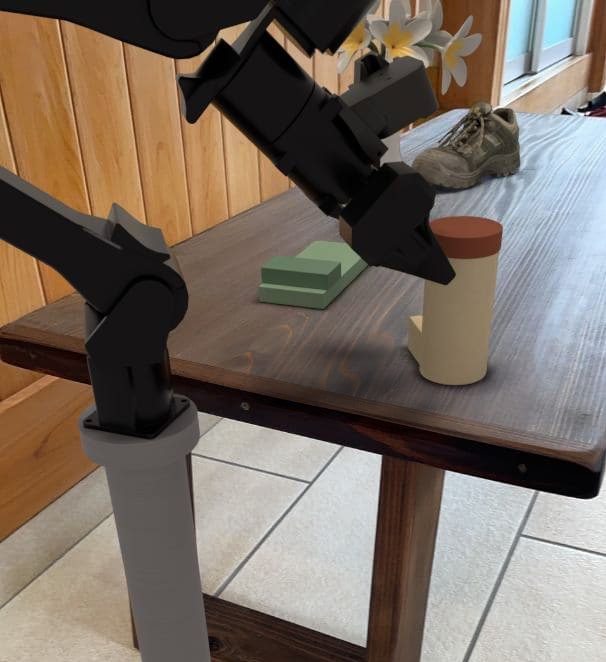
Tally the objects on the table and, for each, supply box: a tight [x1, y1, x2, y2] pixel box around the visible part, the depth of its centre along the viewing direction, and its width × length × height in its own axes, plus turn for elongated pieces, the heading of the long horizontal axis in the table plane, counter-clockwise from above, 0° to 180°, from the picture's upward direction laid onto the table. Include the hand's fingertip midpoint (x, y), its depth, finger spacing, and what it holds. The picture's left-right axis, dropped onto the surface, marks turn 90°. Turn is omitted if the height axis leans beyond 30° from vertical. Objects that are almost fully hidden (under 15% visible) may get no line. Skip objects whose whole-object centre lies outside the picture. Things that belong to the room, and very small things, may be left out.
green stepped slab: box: [258, 240, 369, 310], centre depth 91 cm, size 16×7×3 cm, turn 158°
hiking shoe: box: [410, 100, 521, 189], centre depth 122 cm, size 9×21×12 cm, turn 133°
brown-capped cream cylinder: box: [407, 215, 504, 386], centre depth 70 cm, size 8×6×12 cm
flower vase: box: [323, 0, 483, 167], centre depth 98 cm, size 13×18×25 cm
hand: (430, 260), depth 66 cm, fingers open, 9 cm apart
